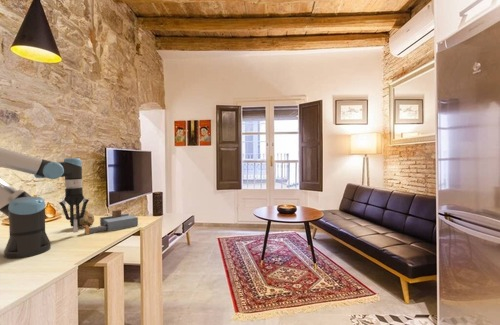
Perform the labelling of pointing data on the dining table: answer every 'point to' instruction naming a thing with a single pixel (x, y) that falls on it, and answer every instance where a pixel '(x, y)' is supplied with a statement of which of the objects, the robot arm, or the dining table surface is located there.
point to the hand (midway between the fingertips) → (75, 231)
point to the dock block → (119, 222)
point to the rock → (86, 219)
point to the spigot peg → (116, 213)
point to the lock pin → (95, 229)
